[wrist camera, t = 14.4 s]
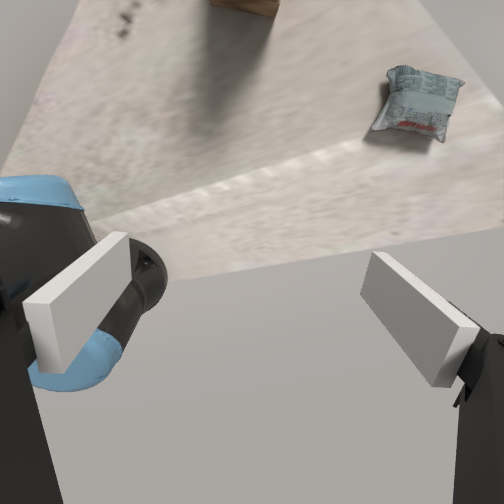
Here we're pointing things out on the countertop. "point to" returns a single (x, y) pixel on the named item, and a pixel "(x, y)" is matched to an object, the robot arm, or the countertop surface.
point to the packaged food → (418, 102)
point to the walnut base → (251, 6)
